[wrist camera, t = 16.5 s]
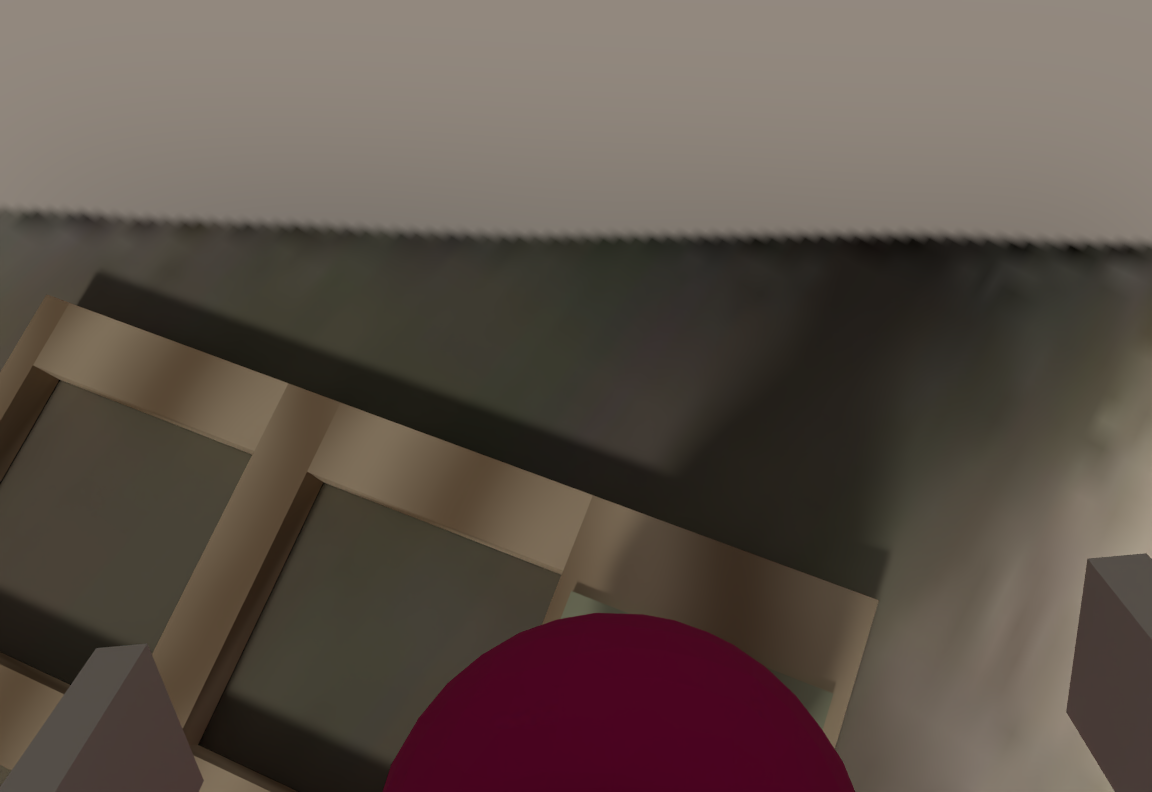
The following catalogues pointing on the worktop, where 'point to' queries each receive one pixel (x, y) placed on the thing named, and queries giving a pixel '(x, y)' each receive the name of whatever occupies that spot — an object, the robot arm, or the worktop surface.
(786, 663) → the board
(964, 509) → the worktop surface
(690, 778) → the pepper mill
